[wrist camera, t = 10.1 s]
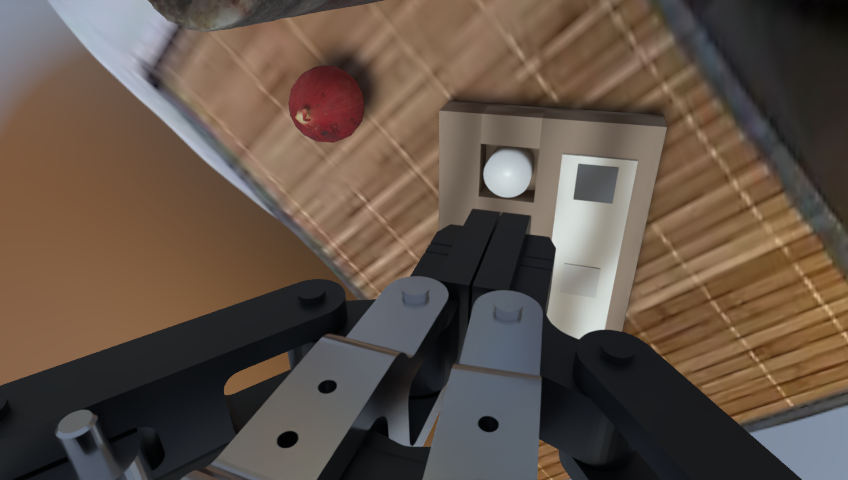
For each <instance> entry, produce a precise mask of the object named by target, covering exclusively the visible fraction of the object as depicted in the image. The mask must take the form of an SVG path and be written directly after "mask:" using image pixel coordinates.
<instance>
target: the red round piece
mask: <svg viewBox="0 0 848 480" xmlns="http://www.w3.org/2000/svg"><path fill="white" fill-rule="evenodd" d="M289 110H290V116H291V118H292V120H293V122H294V124H295V126H296V127H297V128H298V129H299V130H300V131H301V132H302V133H303V134H304V135H305V136H307V137H309V138H311V139H313V140H315V141H318V142H333V143H334V142H337V141H339V140H342V139H344V138H346V137H349V136H351V135H352V134H353V132H354V131H355V130H356V129H357V127H358V126H359V125H360V123H361V122H362V119H363V113H364V100H363V94H362V92H361V90H360V88H359V86H358V84H357V82H356V81H355V80H354V79H353V78H352V77H351V76H350V75H349V74H348V73H347V72H346V71H344V70H341V69H339V68H337V67H335V66H318V67H314V68H312V69H310V70H308V71H307V72H305V73H303V74H302V75H301V76H300V77H299V78H298V80H297V81H296V83H295V84H294V85H293V87H292V89H291V93H290V98H289Z"/></svg>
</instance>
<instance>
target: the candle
mask: <svg viewBox="0 0 848 480" xmlns="http://www.w3.org/2000/svg"><path fill="white" fill-rule="evenodd" d="M148 1H149V2H150V3H151V4H152V6H153V7H154V9H155V10H157V11H158V12H159V13H160V14H161V15H163V16H164V17H165V18H166V19H167V20H168V21H170V22H173V23H176V24H178V25H180V26H182V27H184V28H187V29H191V30H196V31H204V32H209V31H217V30H225V29H231V28H236V27H243V26H248V25H253V24H258V23H263V22H270V21H274V20H277V19H281V18H288V17H295V16H300V15H305V14H309V13H316V12H320V11H326V10H332V9H339V8H344V7H351V6H357V5H363V4H368V3H373V2H378V1H383V0H148Z"/></svg>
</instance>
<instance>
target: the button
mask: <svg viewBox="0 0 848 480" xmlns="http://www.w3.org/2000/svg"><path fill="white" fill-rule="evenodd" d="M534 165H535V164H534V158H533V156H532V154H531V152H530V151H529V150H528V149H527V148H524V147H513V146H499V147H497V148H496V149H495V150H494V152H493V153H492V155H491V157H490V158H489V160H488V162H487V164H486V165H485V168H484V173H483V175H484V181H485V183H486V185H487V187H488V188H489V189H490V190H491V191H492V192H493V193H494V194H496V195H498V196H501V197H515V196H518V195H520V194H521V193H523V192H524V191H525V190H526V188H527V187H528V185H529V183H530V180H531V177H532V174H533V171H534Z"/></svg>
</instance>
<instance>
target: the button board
mask: <svg viewBox="0 0 848 480" xmlns="http://www.w3.org/2000/svg"><path fill="white" fill-rule="evenodd" d="M666 130H667V125H666V122H665V119H664V116H663V115H653V114H638V113H623V112H608V111H593V110H578V109H563V108H548V107H533V106H518V105H503V104H488V103H473V102H458V101H449V102H448V103H447V104H446V105H445V106H444V107H442V108H441V109H440V110H439V231H440V230H441V229H443V228H445V227H446V226H448V225H450V224H454V225H461V226H463V225H464V223H465V221H466V220H467V218H468V216H469V214H470V212H471V210H472V209H482V210H490V211H498V212H501V214H502V212H507V213H515V214H523V215H531V231H530V235H538V236H546V237H550V239H551V241H552V242H553V244H554V246H555V247H556V253H555V261H554V269H553V277H552V284H551V292H550V299H549V305H548V311H547V317H548V319H549V320H550V322H551V323H552V324H553V325H554V326H555V327H556V328H558V329H559V330H560V331H562V332H564V333H566V334H568V335H570V336H572V337H574V338H577V339H580V338H581V337H582V336H583V335H585V334H587V333H589V332H592V331H596V330H616V331H620V332H622V329H623V325H624V320H625V316H626V311H627V307H628V302H629V298H630V293H631V289H632V284H633V280H634V275H635V270H636V266H637V261H638V257H639V252H640V248H641V243H642V239H643V234H644V230H645V225H646V221H647V216H648V211H649V207H650V202H651V198H652V193H653V189H654V184H655V180H656V175H657V171H658V166H659V162H660V157H661V152H662V148H663V143H664V139H665V134H666ZM499 146H513V147H524V148H527V149H528V150H529V151H530V152H531V154H532V156H533V158H534V164H535V165H534V171H533V174H532V177H531V180H530V183H529V185H528V187H527V188H526V190H525V191H524V192H523V193H521V194H520V195H518V196H515V197H501V196H498V195H496V194H494V193H493V192H492V191H491V190H490V189H489V188H488V187H487V185H486V183H485V181H484V175H483V173H484V168H485V165H486V164H487V162H488V160H489V158H490V157H491V155H492V153H493V152H494V150H495V149H496V148H497V147H499Z"/></svg>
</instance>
